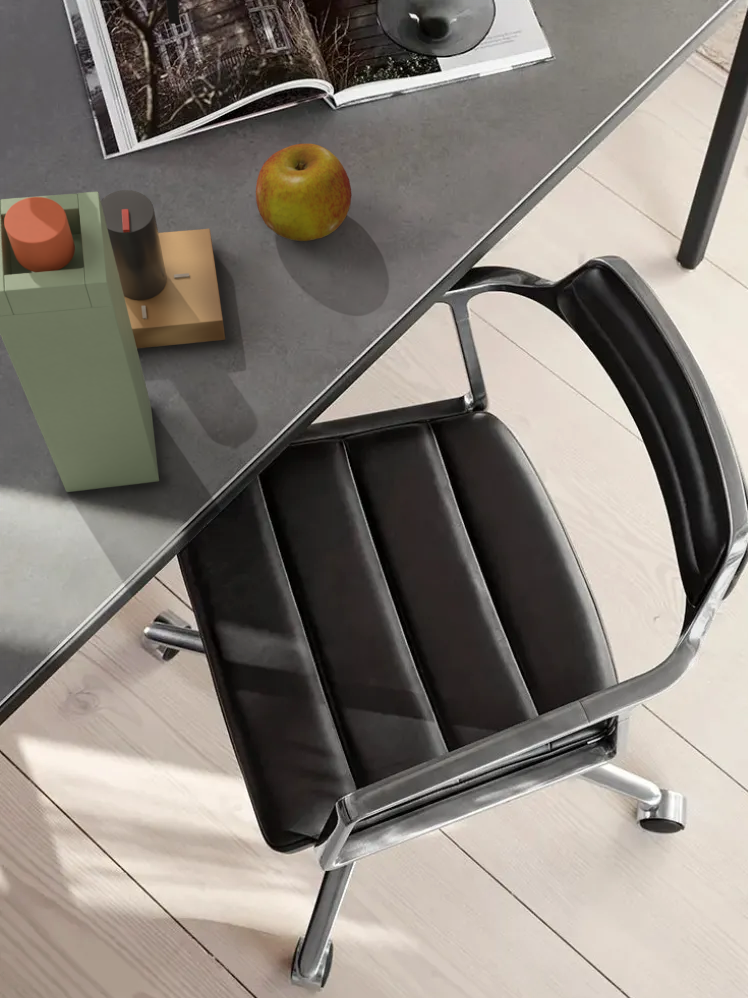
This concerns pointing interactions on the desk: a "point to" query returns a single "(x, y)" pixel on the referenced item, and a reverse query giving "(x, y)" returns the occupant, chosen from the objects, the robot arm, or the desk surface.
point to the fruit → (303, 192)
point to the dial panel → (181, 295)
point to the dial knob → (135, 243)
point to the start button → (39, 234)
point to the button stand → (79, 355)
